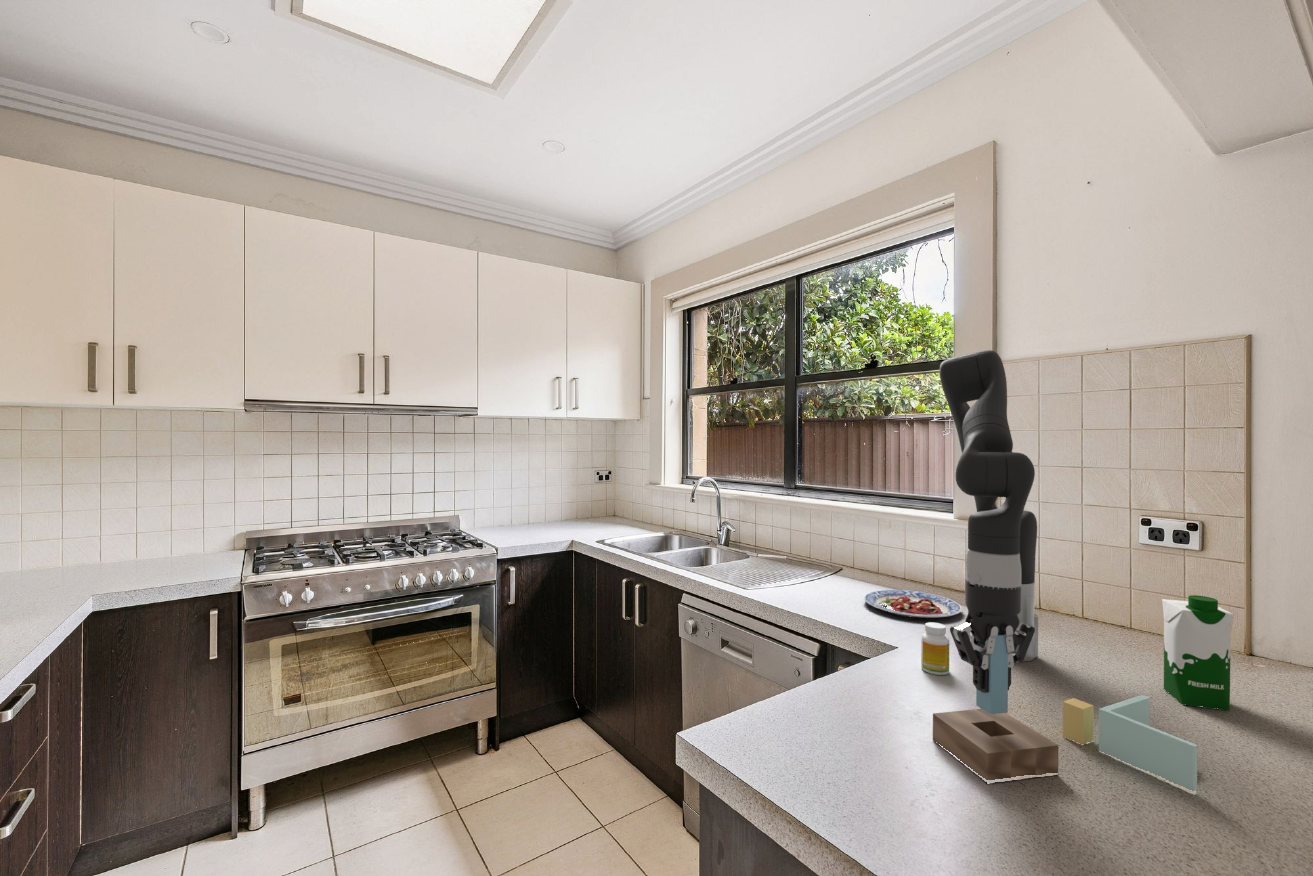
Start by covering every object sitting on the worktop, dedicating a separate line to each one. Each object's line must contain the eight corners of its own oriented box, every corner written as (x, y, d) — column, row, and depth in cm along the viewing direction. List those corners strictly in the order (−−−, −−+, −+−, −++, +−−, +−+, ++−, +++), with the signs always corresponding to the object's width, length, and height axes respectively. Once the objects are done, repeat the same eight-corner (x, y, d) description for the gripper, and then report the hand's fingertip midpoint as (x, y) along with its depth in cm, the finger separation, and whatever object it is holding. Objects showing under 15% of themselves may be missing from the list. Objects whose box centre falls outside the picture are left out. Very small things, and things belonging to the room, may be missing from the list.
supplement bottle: (952, 676, 120) (952, 630, 120) (924, 674, 121) (925, 628, 121) (945, 666, 125) (945, 622, 125) (918, 664, 126) (918, 620, 126)
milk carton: (1179, 706, 107) (1180, 599, 107) (1155, 686, 115) (1156, 587, 115) (1239, 714, 104) (1240, 604, 104) (1210, 693, 112) (1211, 591, 112)
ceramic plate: (965, 605, 170) (965, 595, 170) (957, 630, 148) (957, 619, 148) (874, 592, 184) (874, 583, 184) (854, 613, 162) (854, 603, 162)
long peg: (992, 703, 92) (993, 628, 92) (1007, 712, 89) (1008, 635, 89) (976, 705, 91) (976, 629, 91) (990, 714, 88) (991, 636, 88)
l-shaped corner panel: (1193, 799, 80) (1194, 746, 80) (1098, 755, 91) (1099, 708, 91) (1236, 779, 85) (1237, 728, 85) (1141, 739, 96) (1142, 694, 96)
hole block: (996, 733, 97) (996, 707, 97) (1058, 775, 85) (1058, 745, 85) (932, 740, 95) (932, 713, 95) (987, 784, 83) (987, 753, 83)
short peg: (1073, 733, 97) (1073, 698, 97) (1093, 741, 95) (1093, 705, 94) (1062, 737, 96) (1063, 701, 96) (1082, 746, 93) (1082, 709, 93)
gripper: (1012, 572, 95) (1011, 676, 95) (936, 575, 92) (935, 682, 92) (1052, 583, 87) (1050, 697, 87) (970, 587, 85) (969, 704, 85)
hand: (991, 689), depth 90 cm, fingers closed on long peg, 3 cm apart
